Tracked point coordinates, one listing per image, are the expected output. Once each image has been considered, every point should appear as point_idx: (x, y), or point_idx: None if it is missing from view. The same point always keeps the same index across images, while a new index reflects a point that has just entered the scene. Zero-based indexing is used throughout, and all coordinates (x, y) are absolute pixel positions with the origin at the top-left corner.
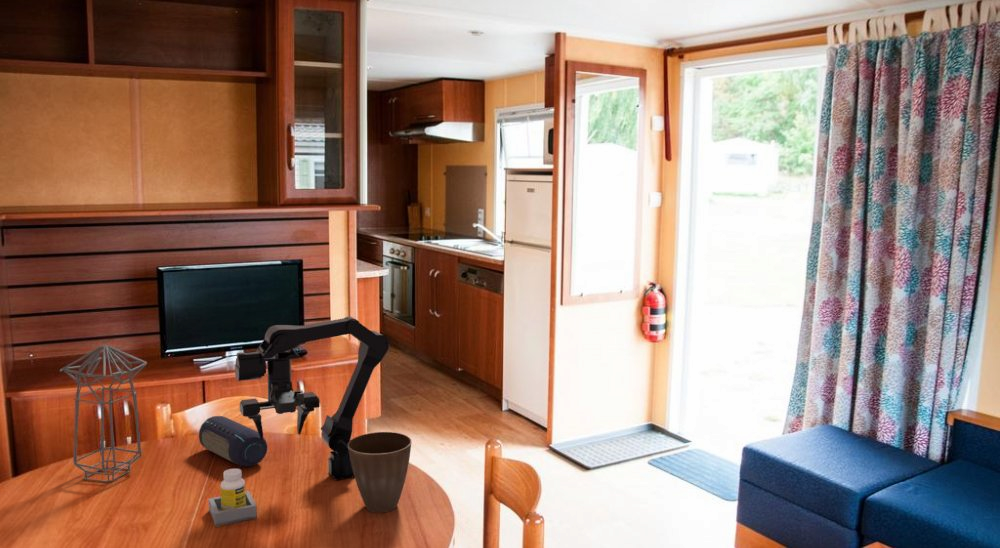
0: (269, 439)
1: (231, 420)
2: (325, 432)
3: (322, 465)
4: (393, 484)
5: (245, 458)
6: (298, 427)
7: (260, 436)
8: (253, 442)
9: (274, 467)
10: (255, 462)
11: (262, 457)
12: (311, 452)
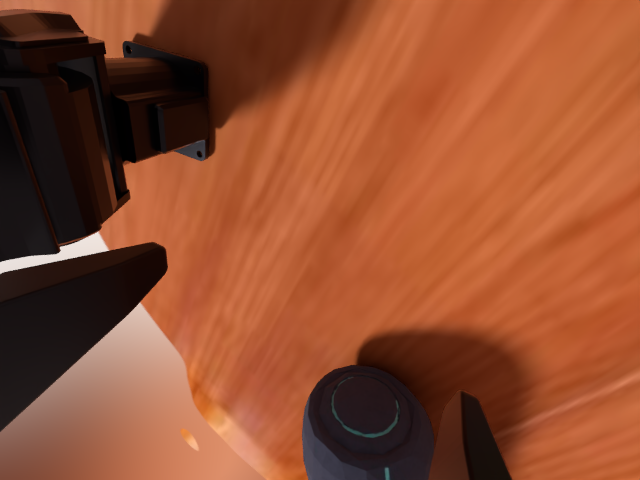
0: (268, 426)
1: None
2: (15, 162)
3: (211, 222)
4: None
5: (399, 400)
6: (108, 288)
7: (493, 438)
8: (354, 439)
9: (329, 317)
10: (367, 371)
11: (340, 372)
12: (213, 311)
